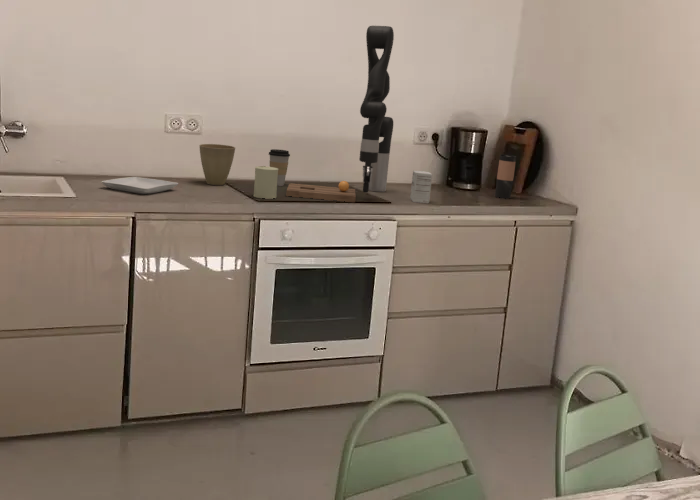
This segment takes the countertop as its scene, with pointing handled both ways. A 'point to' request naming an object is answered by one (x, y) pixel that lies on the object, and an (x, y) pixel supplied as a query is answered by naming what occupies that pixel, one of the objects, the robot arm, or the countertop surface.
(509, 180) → the travel mug
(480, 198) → the countertop surface
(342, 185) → the ball
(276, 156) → the coffee cup
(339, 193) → the wooden cutting board
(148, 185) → the salad plate
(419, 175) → the supplement box
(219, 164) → the plant pot
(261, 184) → the can
